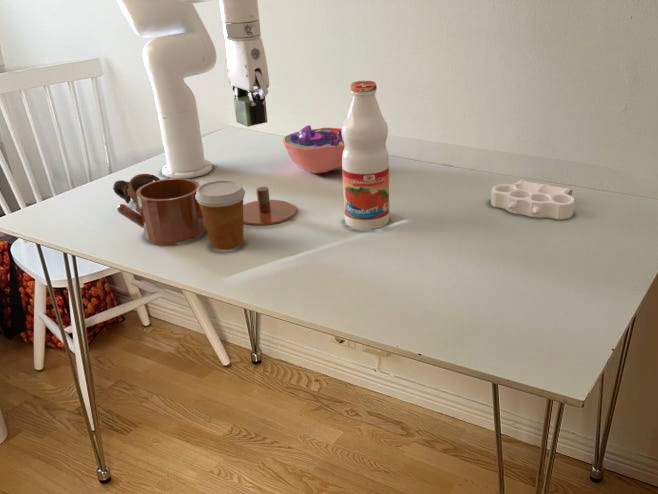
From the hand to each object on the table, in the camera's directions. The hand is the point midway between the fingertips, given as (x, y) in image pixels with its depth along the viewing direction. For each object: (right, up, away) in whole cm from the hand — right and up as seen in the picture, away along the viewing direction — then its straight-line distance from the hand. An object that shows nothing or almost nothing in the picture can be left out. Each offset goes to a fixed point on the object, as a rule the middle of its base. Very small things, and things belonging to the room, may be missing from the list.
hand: (251, 120), depth 154 cm
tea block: (0, 0, 0) cm, 0 cm away
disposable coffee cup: (-3, -29, -12) cm, 32 cm away
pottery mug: (-26, -17, +7) cm, 32 cm away
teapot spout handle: (-15, -24, -7) cm, 29 cm away
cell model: (+15, -5, +23) cm, 28 cm away
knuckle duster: (+61, -19, -1) cm, 64 cm away
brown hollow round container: (-15, -26, -6) cm, 30 cm away
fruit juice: (+25, -23, -5) cm, 35 cm away
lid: (+3, -20, 0) cm, 21 cm away
